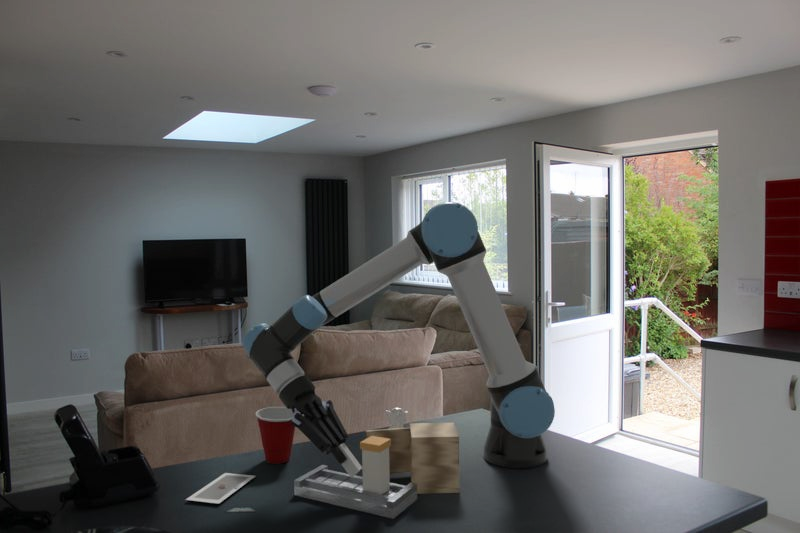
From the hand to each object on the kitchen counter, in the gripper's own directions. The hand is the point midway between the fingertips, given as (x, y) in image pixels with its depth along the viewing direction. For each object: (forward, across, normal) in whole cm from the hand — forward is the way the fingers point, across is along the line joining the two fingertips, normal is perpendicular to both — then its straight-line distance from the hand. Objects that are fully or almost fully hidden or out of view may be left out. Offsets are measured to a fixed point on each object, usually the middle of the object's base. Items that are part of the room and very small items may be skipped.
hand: (356, 472), depth 124 cm
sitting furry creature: (+1, -25, -7) cm, 26 cm away
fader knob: (+5, 0, +1) cm, 6 cm away
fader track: (+3, 0, -4) cm, 5 cm away
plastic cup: (-17, -10, -25) cm, 32 cm away
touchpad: (-16, +10, -24) cm, 31 cm away
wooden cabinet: (+9, -11, +1) cm, 14 cm away
